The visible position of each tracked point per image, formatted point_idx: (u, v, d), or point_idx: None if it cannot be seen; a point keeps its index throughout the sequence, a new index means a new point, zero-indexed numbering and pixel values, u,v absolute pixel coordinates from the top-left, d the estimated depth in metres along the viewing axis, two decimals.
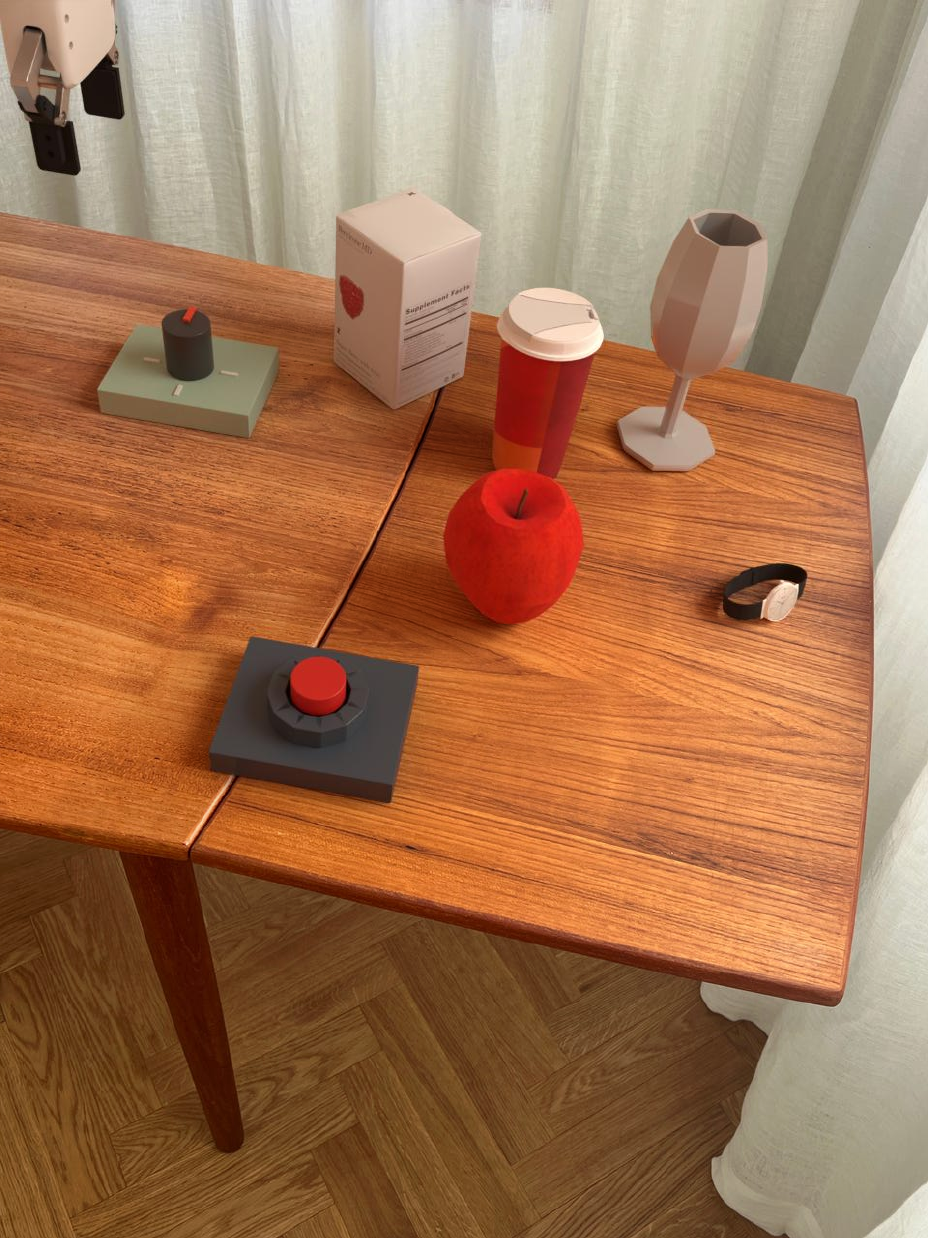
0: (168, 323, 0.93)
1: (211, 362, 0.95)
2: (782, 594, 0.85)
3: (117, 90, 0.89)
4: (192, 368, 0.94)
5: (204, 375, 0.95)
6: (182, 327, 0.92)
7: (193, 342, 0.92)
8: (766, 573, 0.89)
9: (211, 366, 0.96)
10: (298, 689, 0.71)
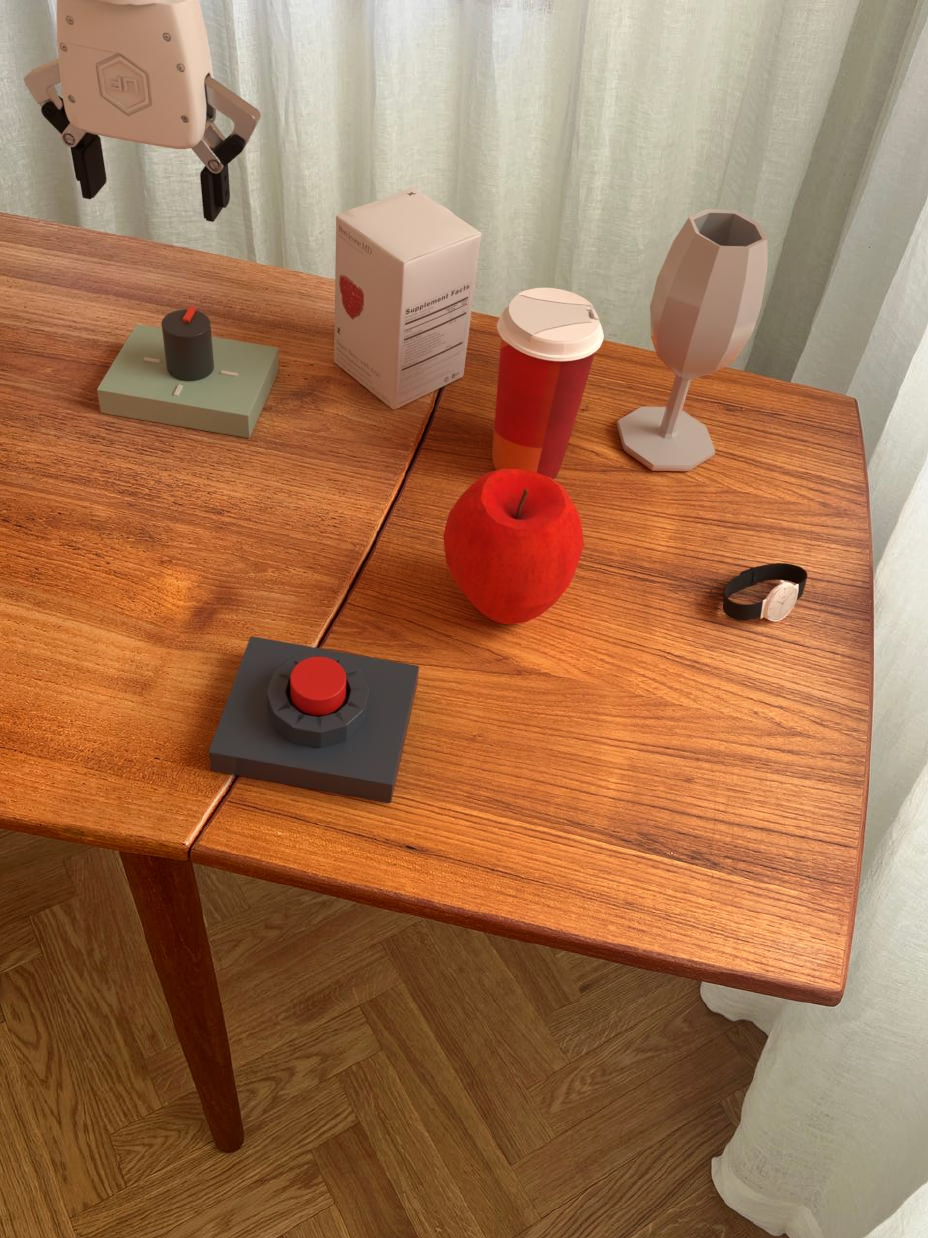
0: (168, 323, 0.93)
1: (211, 362, 0.95)
2: (782, 594, 0.85)
3: (100, 153, 0.86)
4: (192, 368, 0.94)
5: (204, 375, 0.95)
6: (182, 327, 0.92)
7: (193, 342, 0.92)
8: (766, 573, 0.89)
9: (211, 366, 0.96)
10: (298, 689, 0.71)
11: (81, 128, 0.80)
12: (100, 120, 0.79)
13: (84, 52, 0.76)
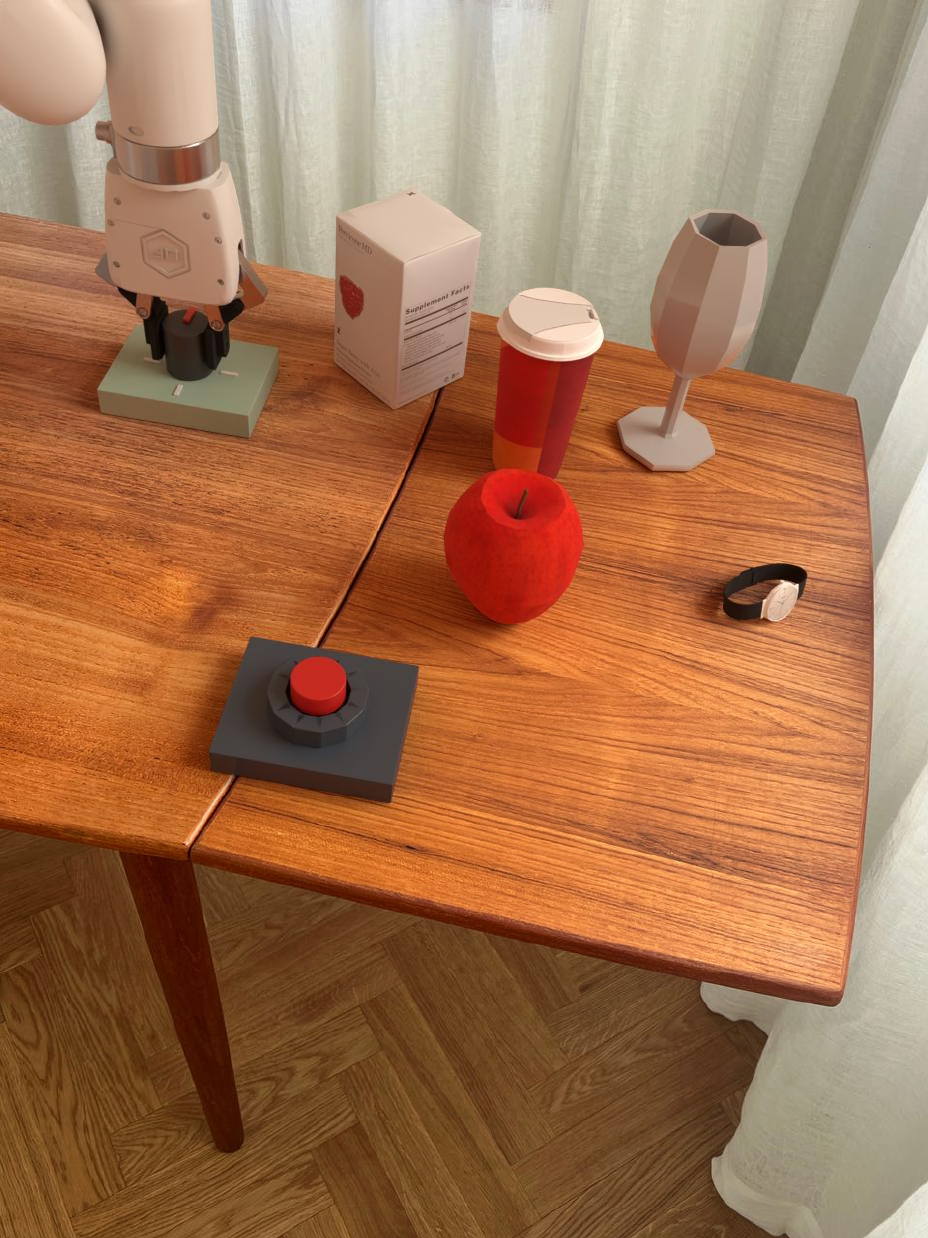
0: (168, 323, 0.93)
1: None
2: (782, 594, 0.85)
3: None
4: (192, 368, 0.94)
5: (204, 375, 0.95)
6: (182, 327, 0.92)
7: (193, 342, 0.92)
8: (766, 573, 0.89)
9: None
10: (298, 689, 0.71)
11: (124, 288, 0.88)
12: (142, 282, 0.87)
13: (130, 227, 0.84)
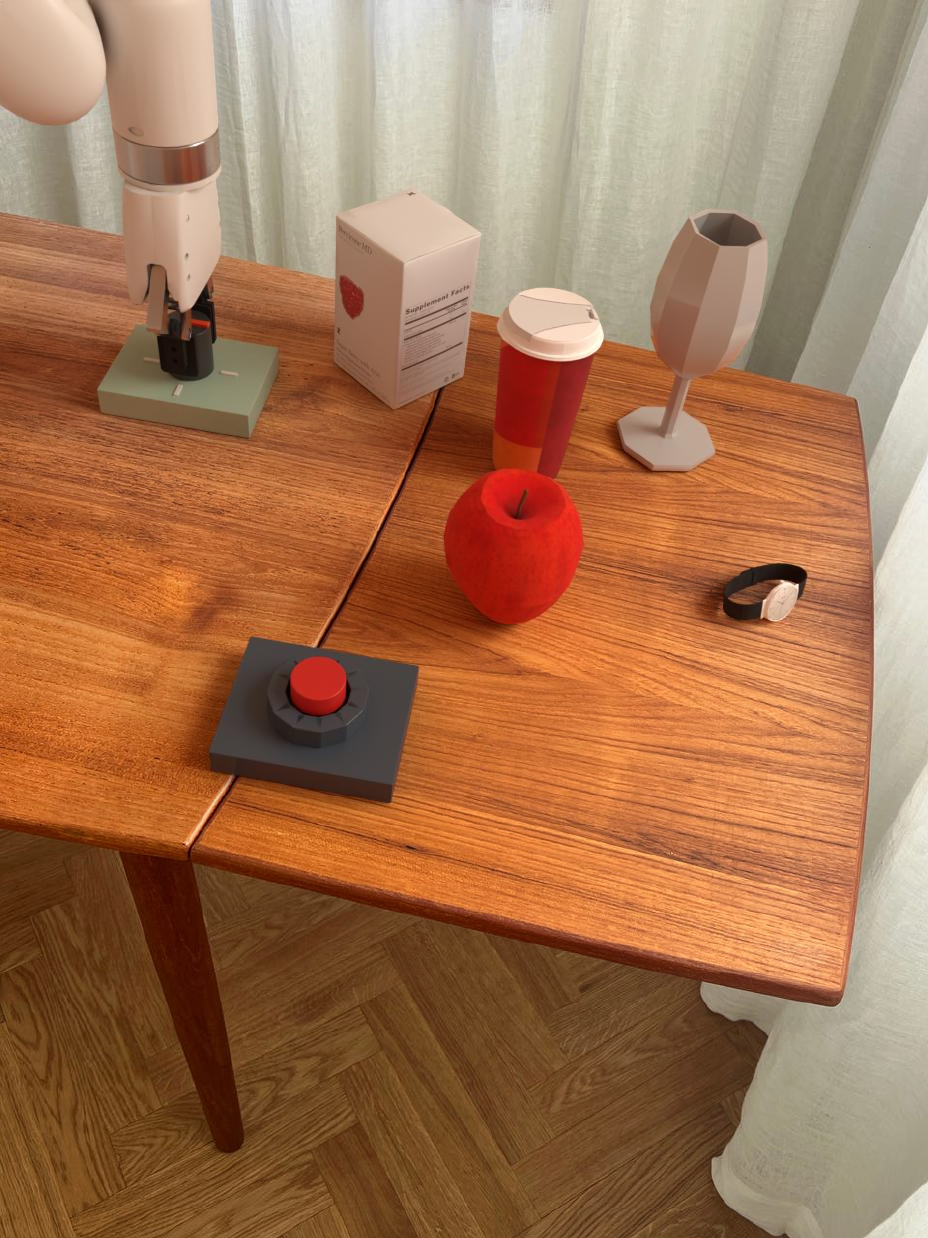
0: None
1: None
2: (782, 594, 0.85)
3: (212, 320, 0.95)
4: None
5: None
6: None
7: None
8: (766, 573, 0.89)
9: None
10: (298, 689, 0.71)
11: None
12: None
13: None
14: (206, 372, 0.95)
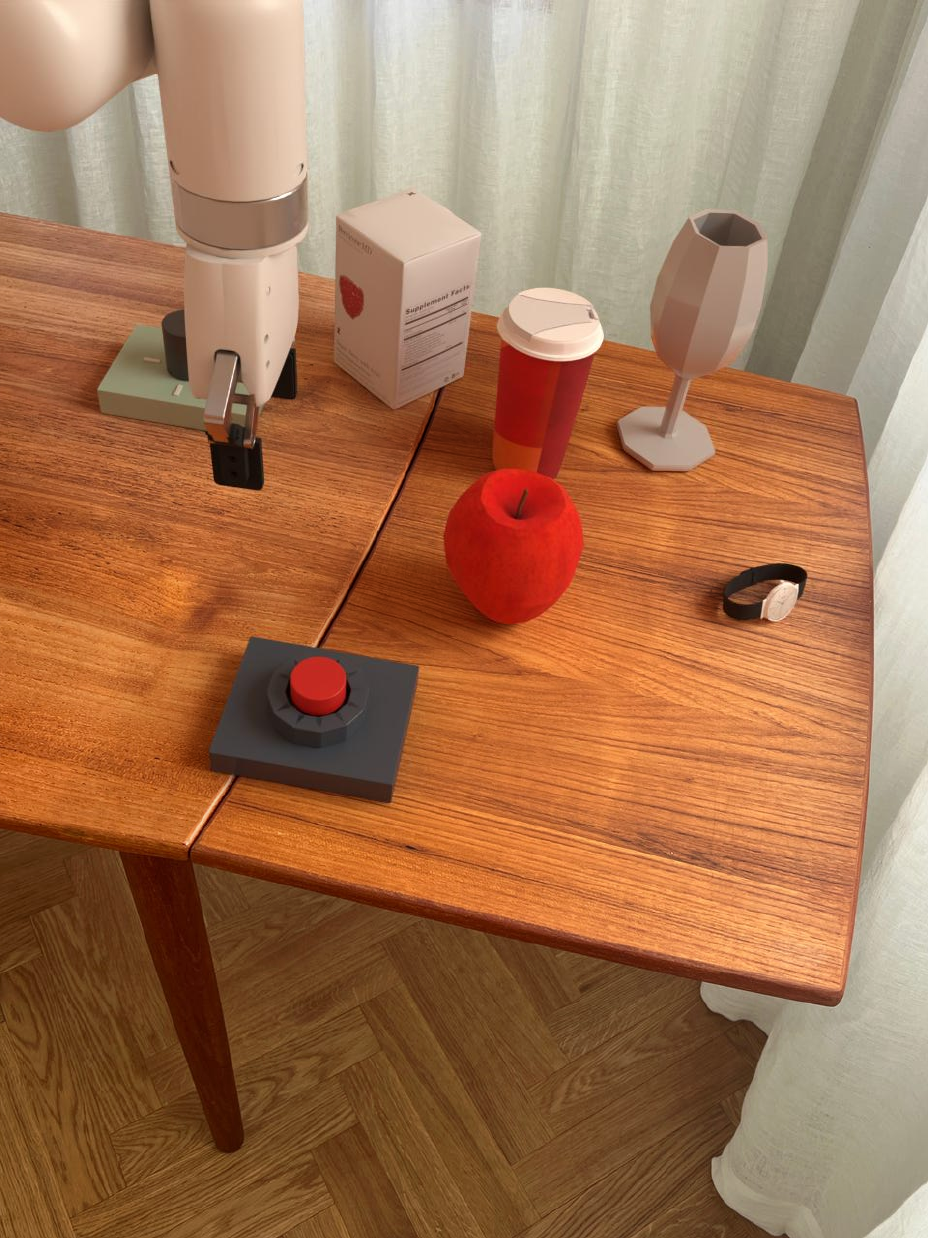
0: None
1: (180, 370, 0.94)
2: (782, 594, 0.85)
3: (293, 371, 0.77)
4: (165, 357, 0.95)
5: (171, 373, 0.95)
6: (176, 320, 0.93)
7: (163, 333, 0.93)
8: (766, 573, 0.89)
9: (180, 374, 0.94)
10: (298, 689, 0.71)
11: None
12: None
13: None
14: None
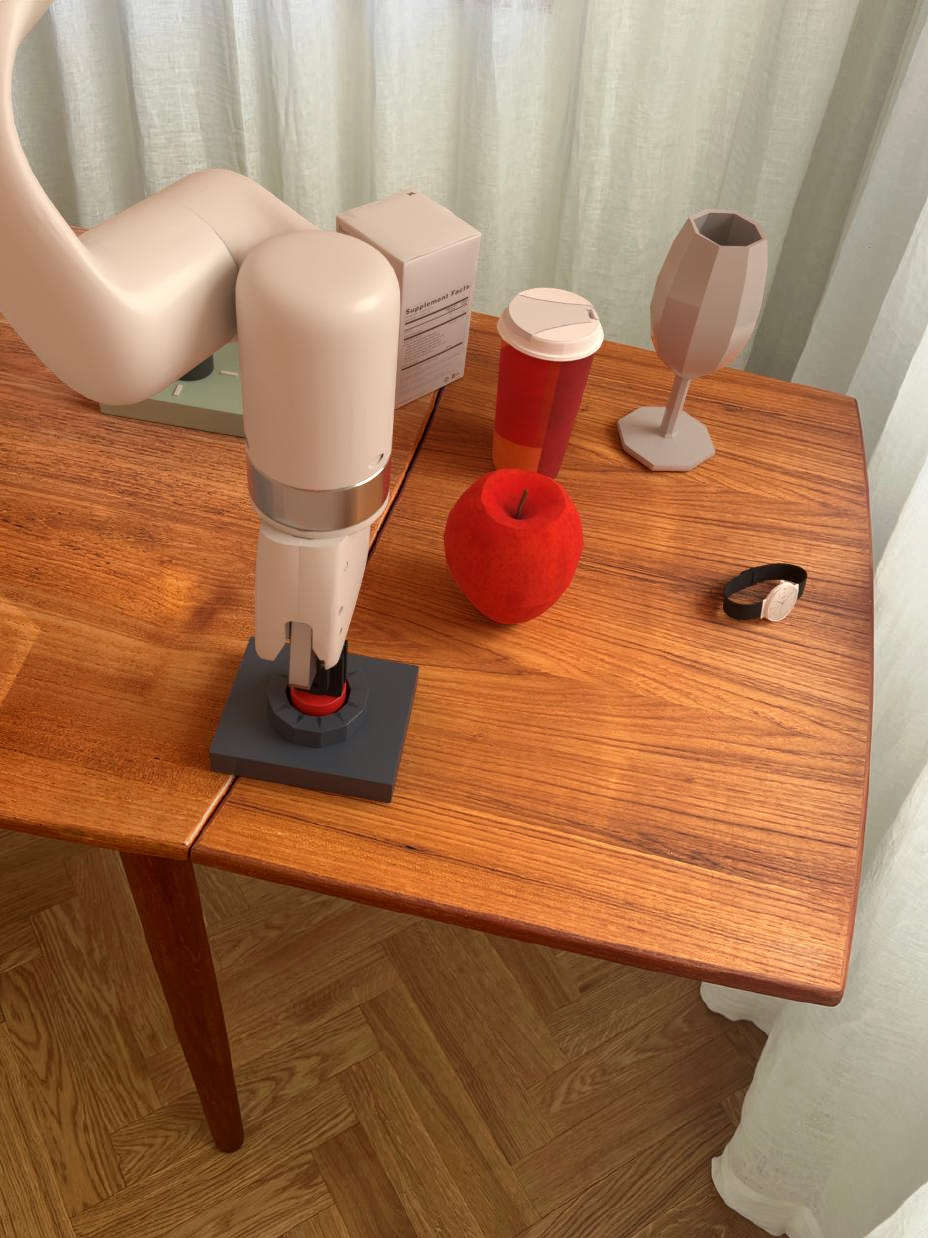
0: None
1: None
2: (783, 594, 0.85)
3: (344, 662, 0.71)
4: None
5: None
6: None
7: None
8: (766, 573, 0.89)
9: None
10: (298, 695, 0.71)
11: None
12: None
13: None
14: (207, 372, 0.95)
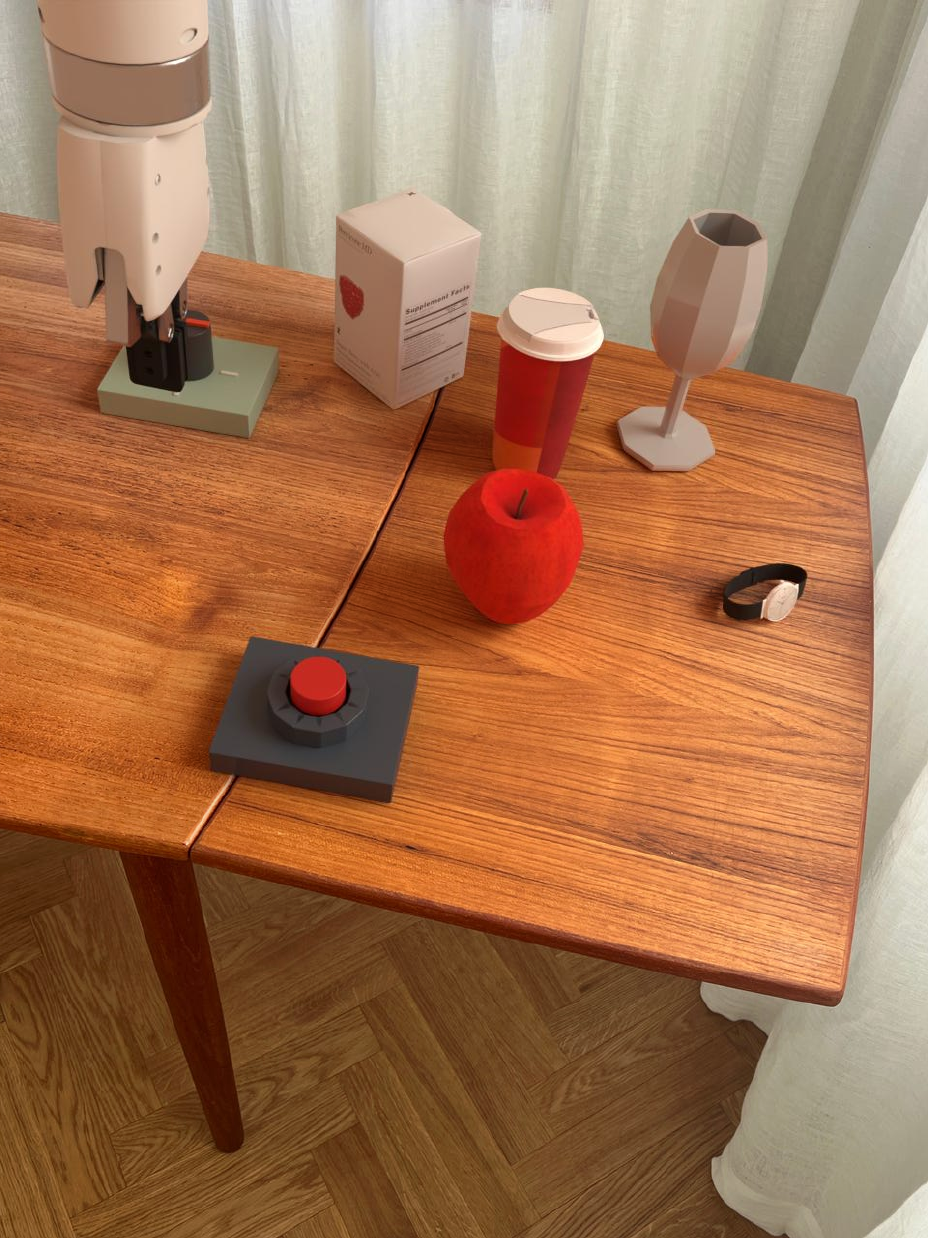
0: None
1: None
2: (782, 594, 0.85)
3: (183, 349, 0.65)
4: None
5: None
6: None
7: None
8: (766, 573, 0.89)
9: None
10: (298, 689, 0.71)
11: None
12: None
13: None
14: (207, 372, 0.95)
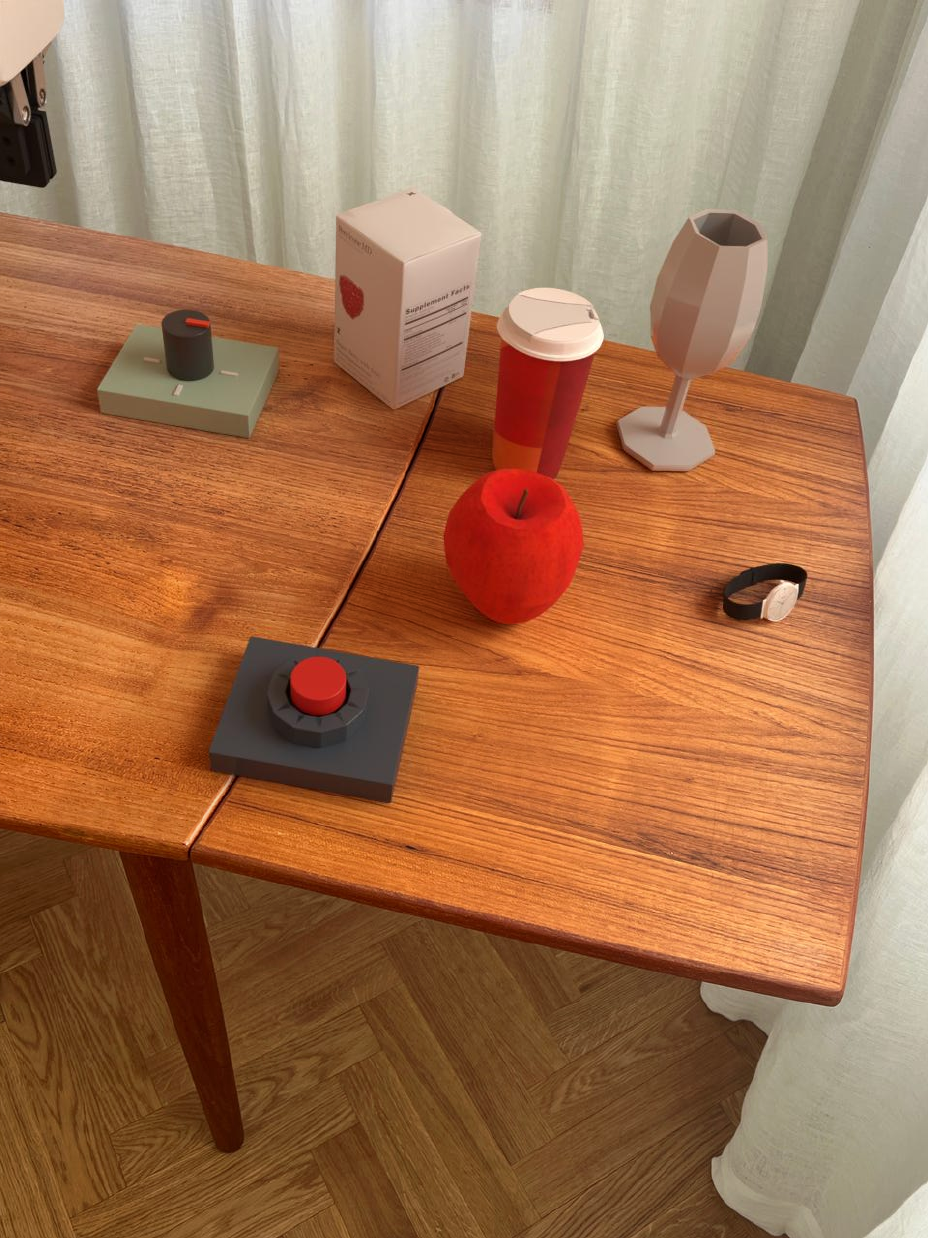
0: (184, 312, 0.94)
1: (180, 370, 0.94)
2: (782, 594, 0.85)
3: (45, 141, 0.66)
4: (165, 357, 0.95)
5: (171, 373, 0.95)
6: (176, 320, 0.93)
7: (163, 333, 0.93)
8: (766, 573, 0.89)
9: (180, 374, 0.94)
10: (298, 689, 0.71)
11: None
12: None
13: None
14: (207, 372, 0.95)
